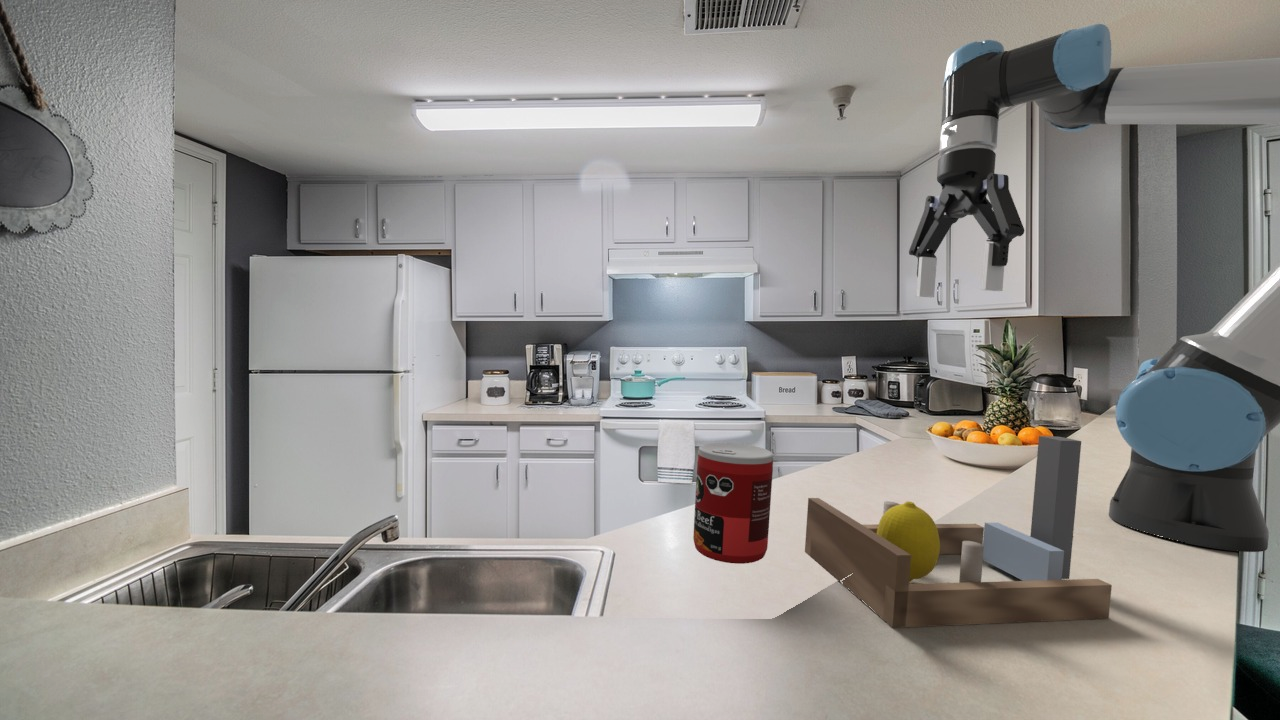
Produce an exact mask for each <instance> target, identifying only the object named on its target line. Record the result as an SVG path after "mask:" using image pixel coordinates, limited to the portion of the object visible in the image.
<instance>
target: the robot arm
mask: <svg viewBox="0 0 1280 720" xmlns="http://www.w3.org/2000/svg"><path fill="white" fill-rule="evenodd" d="M1111 64H1112V39H1111V32H1110V29H1109V27H1108V26H1107V25H1105V23H1104V24H1103V23H1097V24H1092V25H1089V26H1084V27H1081V28H1074V29H1068V30H1066V31H1065V32H1063V33H1059V34H1055V35H1054V36H1050V37H1047V38H1043V39H1041V40H1037V41H1035V42H1031V43H1029V44H1026V45H1022V46H1019V47H1016V48H1014V49H1010V50H1005V48H1004V45H1003V43H1001V42H999V41H998V40H994V39H993V40H992V39H985V40H982V41H973V42H969V43H967V44H964V45H962V46H960V47H959V48H957V49H956V50H955V51H953V52H952V53H951V54H950V56H949V57H948V59H947V62H946V66H945V67H946V68H945V73H944V80H943V83H942V104H941V105H942V107H941V122H940V123H941V124H940V140H939V147H938V148H939V150H938V155H939V156H940V157H939V158H938V160H937V171H936V172H937V173H936V180H937V183H939V185H940V186H941V191H940V194H939V195H937V196H935V195H927V196H926V197H925V203H924V209H923V213H922V216H921V218H920V220H919V224H918V225H917V229H916V231H915V234H914V236H913V239H912V242H911V245H910V247H909V250H908V254H909V255H910V256H914V257H916V258H917V268H916V269H917V270H916V277H917V283H916V285H917V286H916V295H915V296H916V297H919V298H921V297H922V298H935V288H936V278H937V277H936V276H937V266H938V265H937V264H938V263H937V262H938V257H937V256H936V252H937V251H938V248H939V247H940V245H941V243H942V242H943V240H944V239H945V237H946V236H947V234H948V232H949V231H950V229H951V227H952V225H953V224H956V223H957V222H958V220H959V219H963V218H965V217H966V216H973V218H974V219H975V221H976V222H977V223H978V225H979V226H980V228H981V229H982V231H983V232H984V233H985V234H986V236H987V237H988V238H987V239H986V242H987V243H984V249H983V252H984V253H983V263H982V264H983V265H982V267H983V268H982V277H981V291H991V292H1002V291H1003V288H1004V287H1003V286H1004V278H1005V277H1004V276H1005V275H1004V274H1005V267H1006V266H1007V264H1008V261H1009V250H1010V249H1009V248H1010V243H1011V242H1012V241H1013V239H1015V238H1016V237H1021V236H1023V235H1024V233H1025V227H1024V225H1023V223H1022V220H1021V217H1020V215H1019V213H1018V209H1017V208H1016V205H1015V203H1014V199H1013V197H1012V194H1011V191H1010V189H1009V187H1010V185H1009V183H1010V181H1009V180H1010V179H1009V175H1008V174H1001V173H995V169H996V157H997V156H996V155H997V154H996V152H995V150H996V149H997V148H998V147H997V146H998V133H999V132H998V131H999V119H1000V118H999V117H1000V116H999V115H1000V111H1001V109H1003V108H1010V107H1014V106H1018V105H1023V104H1026V103H1031V102H1034V103H1035V104H1036V105H1037V107H1038V108H1039V109H1040V110H1041V112H1042V113H1043V115H1044V117H1045V119H1046V121H1048V122H1049V123H1050V125H1052V126H1053V127H1055V128H1057V129H1058V130H1061V131H1064V132H1070V133H1074V132H1080V131H1083V130H1086V129H1089V128H1090V127H1093V126H1094V125H1280V57H1269V58H1254V59H1238V60H1223V61H1222V60H1221V61H1220V60H1219V61H1206V62H1205V61H1204V62H1203V61H1202V62H1191V63H1172V64H1159V65H1158V64H1157V65H1141V66H1140V65H1139V66H1127V67H1112V68H1111ZM987 197H988V198H987ZM1117 400H1118V401H1117V402H1116V404H1115V412H1114V413H1115V414H1114V415H1115V422H1116V426H1117V429H1118V431H1119V433H1120V435H1121V437H1122V438H1123V440H1124V441H1125V443H1126V444H1127V445H1128V447H1129V446H1130V448H1131V450H1130V460H1129V461H1130V462H1129V466H1128V468H1127V470H1126V472H1125V474H1124V476H1123V478H1122V479H1121V481H1120V482H1119V484H1118V486H1117V488H1116V490H1115V493H1114V495H1113V496H1112V497H1111V499H1110V500H1109V501H1110V502H1109V509H1108V510H1109V511H1108V517H1109V518H1110V520H1112V521H1114V522H1116V523H1118V524H1120V525H1122V526H1124V525H1125V526H1124V527H1127V526H1128V528H1129V527H1132V528H1135V529H1138V530H1141V531H1145V532H1148V533H1151V534H1155V535H1159V536H1163V537H1165V538H1164V539H1166V538H1170V539H1173V540H1172V541H1174V540H1178V541H1181V542H1180V543H1183V542H1185V543H1184V544H1188V545H1194V546H1199V547H1205V548H1209V549H1217V550H1223V551H1229V552H1230V551H1231V552H1243V553H1252V552H1253V553H1259V552H1260V553H1261V552H1264V551H1266V550H1268V547H1269V536H1270V532H1269V528H1268V526H1267V524H1266V520H1265V518H1264V515H1263V512H1262V509H1261V506H1260V503H1259V500H1258V497H1257V494H1256V491H1255V489H1254V485H1253V483H1254V471H1255V465H1256V464H1255V463H1256V455H1257V449H1258V448H1259V445H1260V443H1261V442H1263V440H1264V437H1265V436H1267V435H1269V433H1270V432H1271V431H1272V430H1274V429H1275V428H1276V427H1277V426H1278V425H1280V260H1279V261H1278V262H1277V263H1276V264H1275V265H1274V266H1273V267H1272V268H1271V269H1270V270H1269V271H1268V272H1267V273H1266V274H1265V275H1264V276H1263V277H1261V279H1260V280H1259V281H1258V282H1257V283H1256V284H1255V285H1254V286H1253V287H1252V288H1251V289H1250V290H1249V291H1248V292H1247V293H1246V294H1245V295H1244V296H1243V297H1242V298H1241V299H1240V300H1239V301H1237V303H1236V304H1235V305H1234V306H1233V308H1231V309H1230V311H1228V312H1227V313H1226V314H1225V315H1224V316H1223V317H1222V318H1221V319H1220V320H1219V321H1218V323H1216V324H1215V325H1214V326H1213V328H1211V329H1210V330H1209V331H1207V332H1204V333H1199V334H1198V333H1197V334H1192V335H1185V336H1182V337H1180V338H1179V339H1178V340H1177V341H1176V342H1175V343H1174V344H1173V346H1171V347H1170V349H1168V350H1167V352H1166V353H1164V355H1162V356H1161V358H1151V359H1147V360H1145V361H1143V362H1142V363H1141V364H1140V366H1139V369H1138V374H1137V375H1136V377H1135V379H1134V380H1132V381H1131V382H1130V383H1129V384H1127V386H1126V387H1125V388H1124V389H1123V390H1122V392H1121V393H1120V394H1119V397H1118V399H1117ZM1132 528H1131V529H1132ZM1135 529H1134V530H1135ZM1138 530H1137V531H1138ZM1141 531H1140V532H1141ZM1151 534H1150V535H1151ZM1170 539H1169V540H1170ZM1178 541H1177V542H1178ZM1235 550H1236V551H1235ZM1237 550H1238V551H1237Z"/></svg>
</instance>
